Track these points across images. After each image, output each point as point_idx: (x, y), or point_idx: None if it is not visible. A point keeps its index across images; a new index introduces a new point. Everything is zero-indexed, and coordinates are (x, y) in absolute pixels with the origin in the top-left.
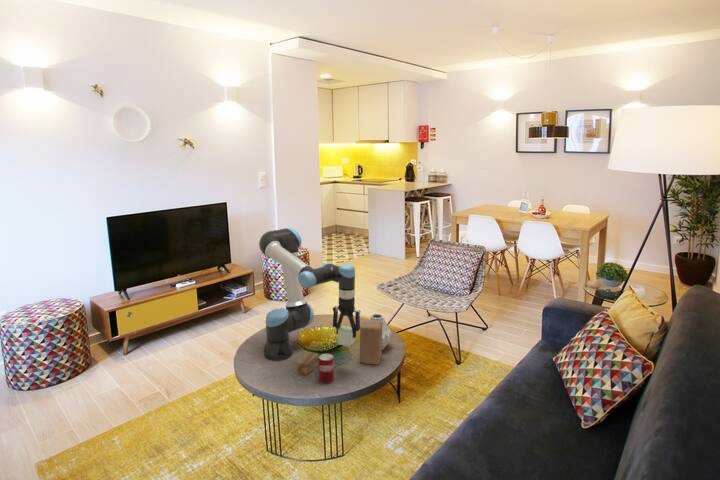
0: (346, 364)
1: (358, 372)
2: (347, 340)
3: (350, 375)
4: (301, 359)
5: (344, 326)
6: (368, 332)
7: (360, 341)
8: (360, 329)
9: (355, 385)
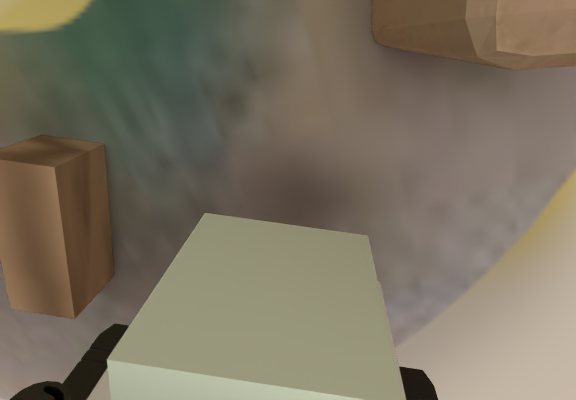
0: (280, 90)
1: (389, 175)
2: None
3: (346, 221)
4: (6, 269)
5: (152, 383)
6: None
7: (414, 49)
8: (472, 57)
9: (399, 308)
